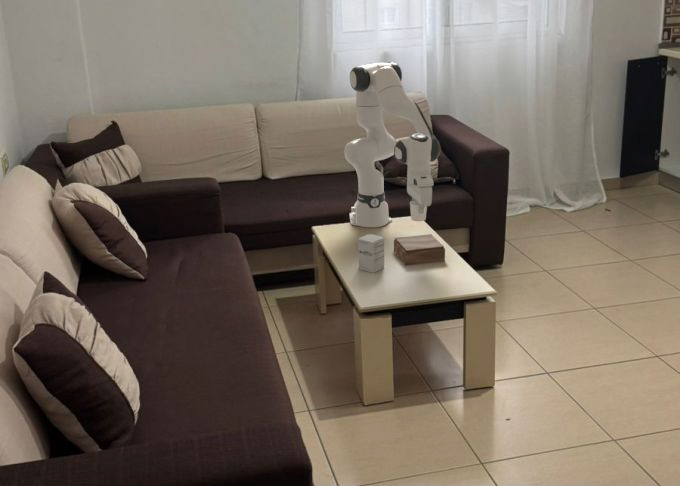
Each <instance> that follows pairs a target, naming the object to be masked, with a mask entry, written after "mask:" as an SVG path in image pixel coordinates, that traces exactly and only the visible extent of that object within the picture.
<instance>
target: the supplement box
mask: <svg viewBox="0 0 680 486" xmlns="http://www.w3.org/2000/svg"><path fill="white" fill-rule="evenodd" d="M384 268H385V237H384V236H383V237H382V236H379V235H375V234H371V233H368V234H366V235H363V236H361V237H359V238H358V269H359V270H362V271H366V272H369V273H372V274H374V273H376V272H379V271H381V270H382V269H384Z"/></svg>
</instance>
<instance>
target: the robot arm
mask: <svg viewBox="0 0 680 486" xmlns="http://www.w3.org/2000/svg"><path fill="white" fill-rule="evenodd" d="M402 79H403V73H402V68H401V67H400V65H399V64H398V63H396V62H374V63H371V64H365V65H358V66H354V67H353V68H352V69H351V71H350V73H349V83H350V86H351V89H353V90H354V91H355V92H356V93H355V96H356V97H355V107H356V109H355V110H356V122H357V124H358V125H359V127H361V128H363V129H364V130H365V132H366V137H365V136H364V137H361V138H355V139H354V140H352V141H349V142H348V143H346V144H345V146H344V151H343V154H344V158H345V160H346V161H347V162H348V163H349V164H351V166H353V168H354V169H355V171H356V175H357V182H358V185H357V186H358V192H357V195H356V196H357V200H356V201H355V203H354V205H353V206H351V208H350V212H349V215H348V216H349V221H350V225H351V226H358V227H363V228H379V227H380V228H381V227H383V226H386V225H387V224H388V223H391V222H393V219H392V218H393V217H392V218H391V216H389V214H390V212H389V205H388V202H386V193H385V191H384V187H385V186H384V184H385V183H384V181H385V180H384V179H385V178H384V174H383V172H381V171H380V170H378V169H376V166H375V162H377V161H384V160H385V159H388V158H390V157H392V156H394V159H395V160H396V161H397V162H398V163H400V164H403V165H407V171H406V172H407V175H406V177H407V181H406V193H407V194H408V195H409V196H410V197H411V201H413V200H416V201H417V202H418V203H419V213H420V214H423V213H424V208H425V206H427V207H430V206H431V205H432V201H433V186H434V179H433V177H432V174H431V166H430V163H433V162H435V161H436V160H437V159H438V158H439V156H440V154H441V152H442V148H441V144H440V141H439V140H438V139H437V137H436V136H435V134H434V133H433V131H432V129H431V127H430V125H429V123H428V122H427V120H426V118H425V115H424V114H423V112H422V110H421V108H420V107H419V105H418V104H417V103H416V101H413V100H412V99H411V98H410V97H409V95H408V94H407V93H406V91H405V89H404V86H403V83H402ZM383 112H384V113H386V114H388V115H390V116H394V117H399V118H402V119H404V120H408V121H409V122H410V123H411V124H412V125H413V127H414V129H415V131H416V133H413V134H411V135H409V136H408V137H407V138H403V139H399V140H398V141H396V139H395V137H394V136H392V135H391V134H390V132H388V130H387V128H386V126H385V123H384V116H383V115H384V114H383Z"/></svg>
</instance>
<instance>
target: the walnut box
mask: <svg viewBox="0 0 680 486" xmlns="http://www.w3.org/2000/svg"><path fill="white" fill-rule="evenodd" d="M393 252H394V254H395V255H396V256H397V257H398V258H399V260H400V261H401V262H402V263H403V264H404V265H405V266H411V265H421V264H429V263H438V262H445V261H446V248H445V247H444V245H443V244H442V243H441V242H440V241H439V240H437V238H436V237H434V235H433V234H432V233H430V234H429V233H427V234H421V235H418V234H417V235H409V236H408V235H407V236H401V237H394V239H393Z"/></svg>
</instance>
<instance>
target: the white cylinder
mask: <svg viewBox="0 0 680 486" xmlns="http://www.w3.org/2000/svg"><path fill="white" fill-rule="evenodd" d="M409 209H410V219H411V221H413V222H424V221H426V219H427V211H428V210H427V209H428V206H425V208H424V213H423V214H420V213H419V203H418V202H417V201H416V200H411V201H409Z"/></svg>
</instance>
